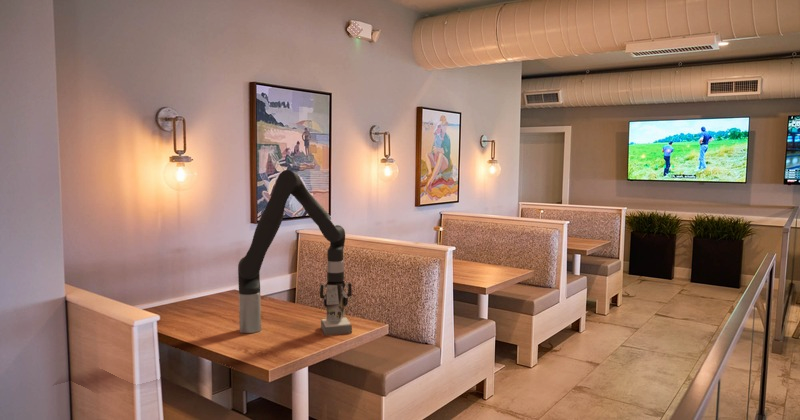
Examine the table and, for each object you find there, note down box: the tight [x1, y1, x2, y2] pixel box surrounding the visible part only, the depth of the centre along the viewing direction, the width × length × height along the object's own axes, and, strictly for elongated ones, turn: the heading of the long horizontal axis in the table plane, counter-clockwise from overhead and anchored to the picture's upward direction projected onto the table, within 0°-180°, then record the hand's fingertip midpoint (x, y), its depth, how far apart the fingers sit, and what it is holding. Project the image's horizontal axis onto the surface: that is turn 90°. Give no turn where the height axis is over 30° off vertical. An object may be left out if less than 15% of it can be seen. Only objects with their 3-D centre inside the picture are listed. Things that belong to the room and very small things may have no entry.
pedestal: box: [320, 316, 353, 336], centre depth 252 cm, size 12×12×4 cm
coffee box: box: [326, 283, 345, 321], centre depth 251 cm, size 9×6×16 cm
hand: (335, 306), depth 251 cm, fingers closed on coffee box, 8 cm apart
